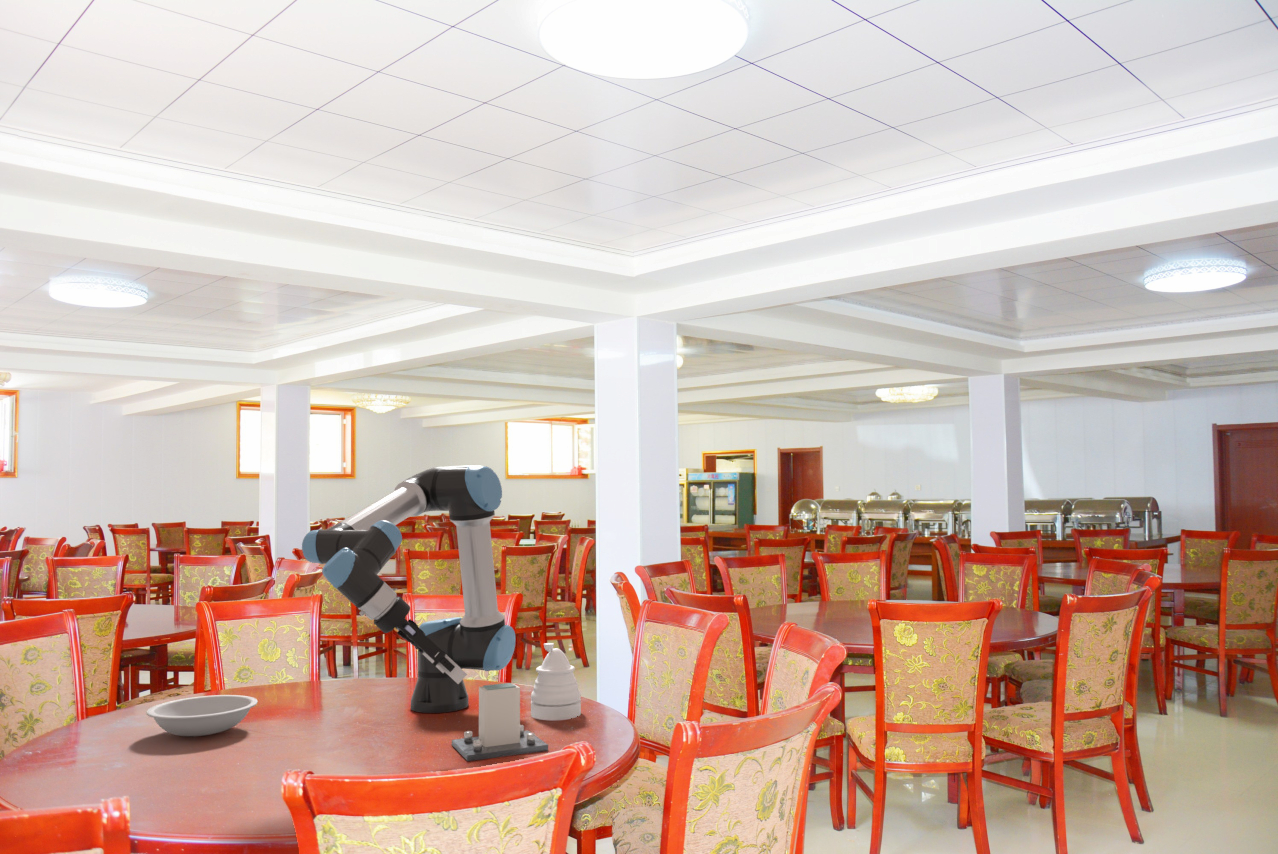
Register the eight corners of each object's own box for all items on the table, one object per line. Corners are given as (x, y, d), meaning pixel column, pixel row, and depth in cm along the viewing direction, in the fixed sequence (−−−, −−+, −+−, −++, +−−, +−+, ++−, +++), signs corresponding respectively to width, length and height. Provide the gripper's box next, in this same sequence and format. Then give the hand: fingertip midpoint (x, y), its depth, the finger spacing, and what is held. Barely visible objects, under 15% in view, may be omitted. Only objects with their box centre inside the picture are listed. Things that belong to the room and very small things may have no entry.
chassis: (451, 745, 200) (451, 730, 200) (528, 735, 207) (528, 721, 208) (467, 761, 187) (467, 745, 187) (548, 750, 195) (548, 735, 195)
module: (478, 741, 198) (478, 685, 199) (513, 737, 201) (513, 682, 202) (484, 747, 193) (485, 689, 194) (520, 742, 197) (520, 686, 198)
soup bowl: (278, 726, 218) (279, 699, 219) (193, 752, 196) (194, 721, 197) (210, 717, 228) (211, 691, 229) (121, 740, 207) (122, 711, 207)
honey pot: (541, 722, 220) (541, 648, 221) (523, 712, 231) (523, 641, 232) (589, 716, 226) (588, 644, 227) (569, 706, 237) (569, 638, 238)
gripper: (363, 615, 199) (429, 677, 204) (382, 629, 177) (456, 698, 182) (387, 590, 202) (452, 651, 207) (409, 600, 179) (481, 669, 185)
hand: (454, 673), depth 194 cm, fingers open, 13 cm apart
